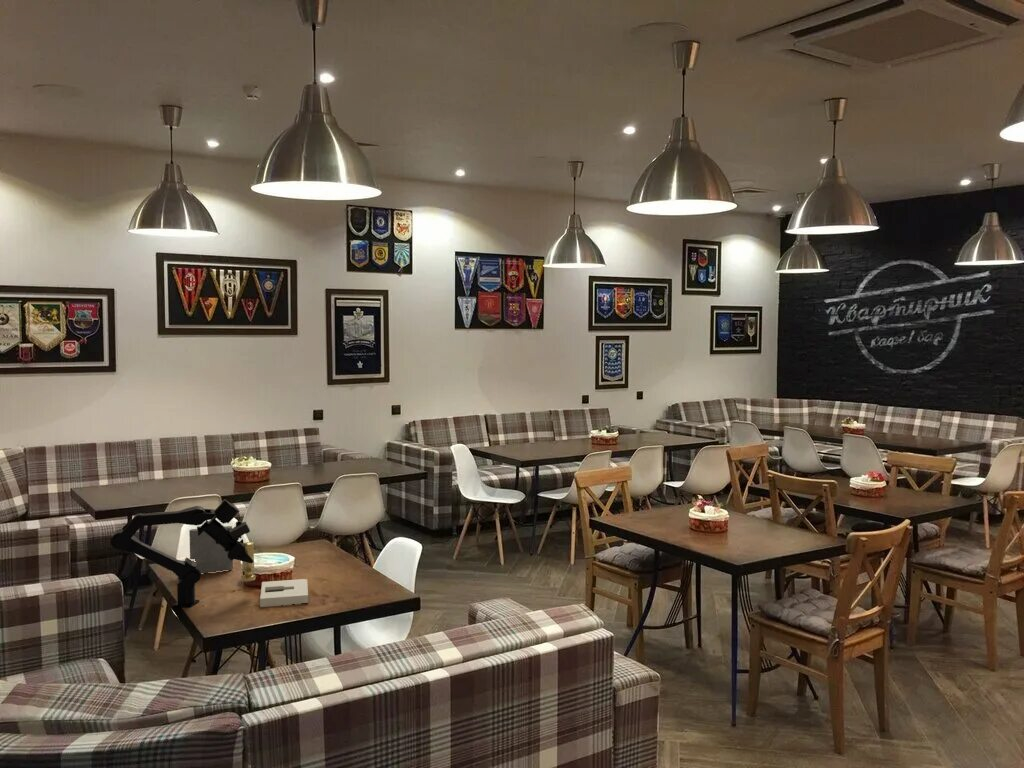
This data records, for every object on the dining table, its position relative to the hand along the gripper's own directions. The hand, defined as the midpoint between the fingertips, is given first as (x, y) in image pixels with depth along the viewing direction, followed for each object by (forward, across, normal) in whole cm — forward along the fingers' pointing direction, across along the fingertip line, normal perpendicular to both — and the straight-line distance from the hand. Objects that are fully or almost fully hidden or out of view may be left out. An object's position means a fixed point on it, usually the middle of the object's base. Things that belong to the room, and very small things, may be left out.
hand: (252, 560), depth 297 cm
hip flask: (0, +38, +18) cm, 42 cm away
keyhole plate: (+16, -4, +2) cm, 17 cm away
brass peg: (+4, 0, +6) cm, 7 cm away
